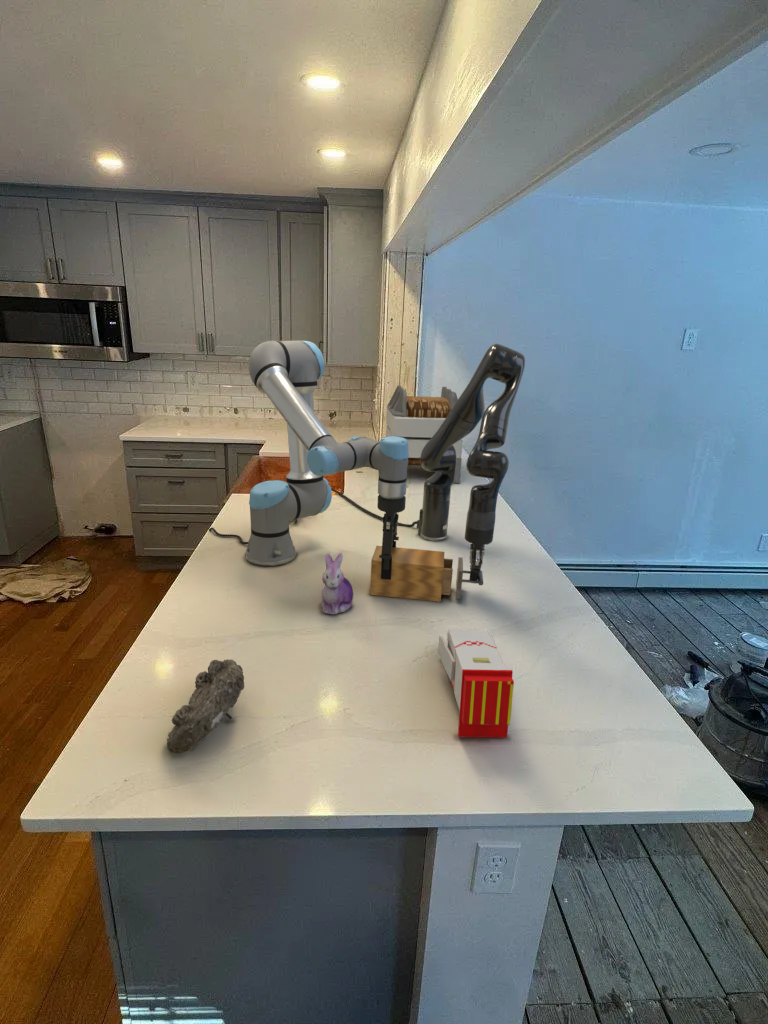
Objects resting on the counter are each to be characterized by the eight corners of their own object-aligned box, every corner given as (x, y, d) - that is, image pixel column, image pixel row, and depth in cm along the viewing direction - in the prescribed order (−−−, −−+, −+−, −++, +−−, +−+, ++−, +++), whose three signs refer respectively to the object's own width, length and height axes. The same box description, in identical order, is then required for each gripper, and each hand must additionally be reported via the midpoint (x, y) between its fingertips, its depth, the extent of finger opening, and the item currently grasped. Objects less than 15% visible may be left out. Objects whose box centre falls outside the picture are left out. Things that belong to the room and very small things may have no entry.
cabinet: (441, 584, 164) (444, 551, 161) (440, 601, 155) (443, 566, 151) (375, 578, 166) (376, 545, 163) (370, 594, 157) (371, 560, 153)
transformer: (382, 463, 289) (386, 382, 275) (445, 464, 293) (451, 384, 279) (390, 482, 257) (394, 392, 243) (460, 483, 261) (468, 394, 247)
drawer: (480, 586, 162) (483, 559, 160) (481, 601, 154) (485, 573, 151) (397, 578, 165) (398, 551, 162) (394, 592, 156) (395, 565, 153)
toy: (488, 613, 130) (523, 677, 101) (484, 667, 133) (517, 744, 104) (435, 612, 130) (455, 676, 101) (432, 666, 133) (451, 743, 103)
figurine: (327, 619, 143) (328, 565, 138) (313, 601, 152) (313, 549, 147) (361, 611, 147) (363, 559, 142) (345, 594, 156) (346, 544, 151)
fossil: (192, 660, 117) (244, 628, 112) (224, 691, 120) (276, 661, 115) (142, 746, 98) (202, 712, 93) (182, 779, 101) (242, 748, 96)
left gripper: (401, 510, 141) (397, 590, 148) (409, 484, 162) (404, 554, 169) (372, 507, 141) (369, 587, 149) (383, 482, 163) (380, 552, 170)
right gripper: (495, 534, 145) (487, 594, 151) (493, 516, 157) (485, 573, 163) (466, 531, 145) (459, 591, 151) (466, 514, 158) (459, 570, 164)
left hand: (388, 570), depth 159 cm, fingers closed on cabinet, 10 cm apart
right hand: (473, 581), depth 157 cm, fingers closed
